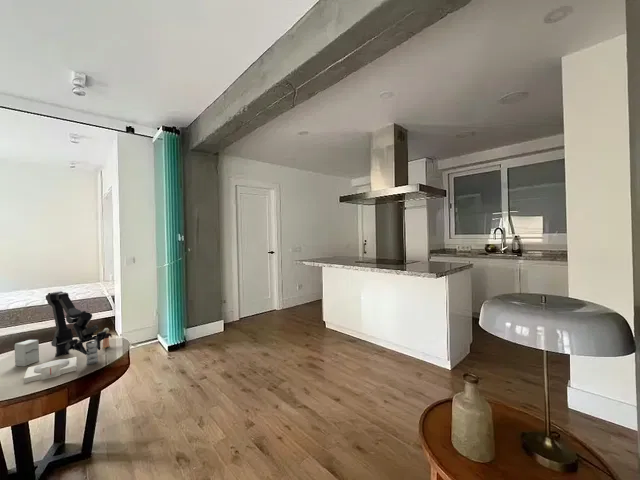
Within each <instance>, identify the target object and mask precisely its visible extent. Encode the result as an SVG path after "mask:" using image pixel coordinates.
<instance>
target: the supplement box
mask: <svg viewBox="0 0 640 480" xmlns="http://www.w3.org/2000/svg"><path fill="white" fill-rule="evenodd" d="M39 344H40V343H39V339H27V340H25V341H20V342H16V343H15V344H14V365H15V366H17V367H26V366H28V365H32V364H35V363H37V362H40V345H39Z"/></svg>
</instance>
